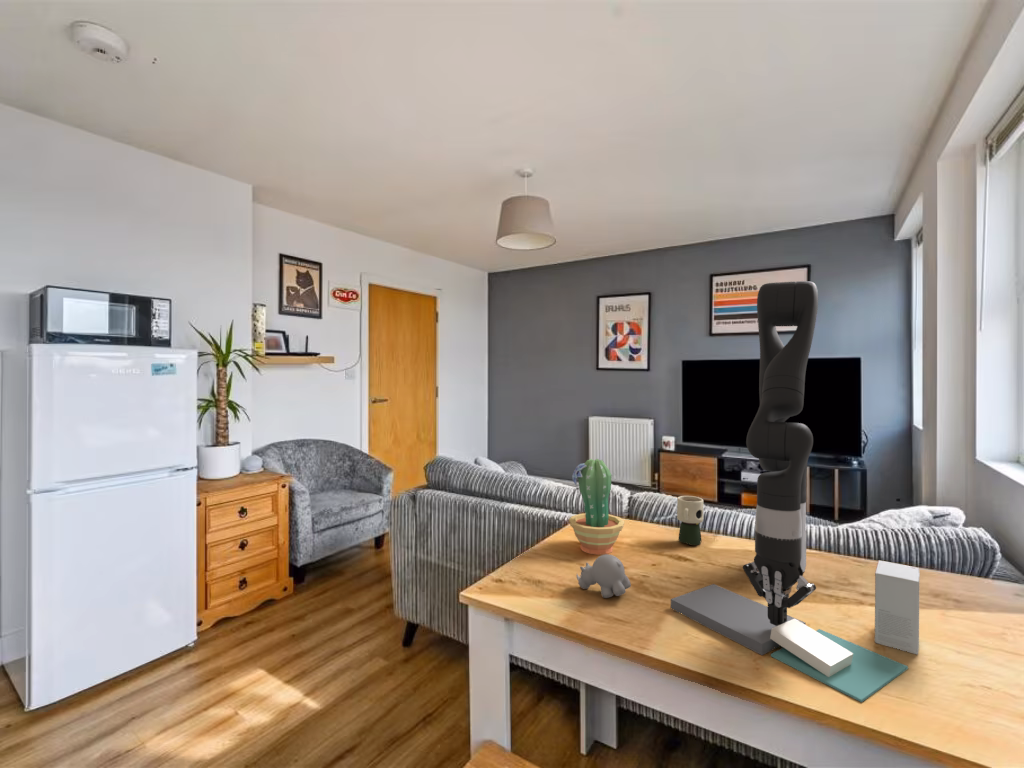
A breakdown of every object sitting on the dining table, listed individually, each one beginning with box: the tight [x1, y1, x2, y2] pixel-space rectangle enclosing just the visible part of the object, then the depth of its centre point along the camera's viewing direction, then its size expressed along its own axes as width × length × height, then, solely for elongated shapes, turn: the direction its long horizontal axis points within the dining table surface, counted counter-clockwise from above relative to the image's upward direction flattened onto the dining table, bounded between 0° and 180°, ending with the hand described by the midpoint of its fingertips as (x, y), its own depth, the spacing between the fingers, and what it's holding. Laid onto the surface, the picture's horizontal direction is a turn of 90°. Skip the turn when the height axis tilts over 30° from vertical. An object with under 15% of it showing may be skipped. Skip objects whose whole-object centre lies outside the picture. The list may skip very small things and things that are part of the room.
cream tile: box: [770, 617, 853, 677], centre depth 85 cm, size 7×10×2 cm
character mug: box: [676, 495, 704, 546], centre depth 142 cm, size 11×7×13 cm, turn 147°
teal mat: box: [770, 628, 909, 703], centre depth 84 cm, size 16×14×1 cm
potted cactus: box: [568, 458, 625, 556], centre depth 138 cm, size 15×16×25 cm
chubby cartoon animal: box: [576, 553, 632, 599], centre depth 111 cm, size 7×12×8 cm, turn 54°
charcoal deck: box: [670, 583, 807, 656], centre depth 98 cm, size 14×20×2 cm
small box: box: [874, 559, 921, 655], centre depth 91 cm, size 8×6×13 cm
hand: (776, 624), depth 90 cm, fingers closed
